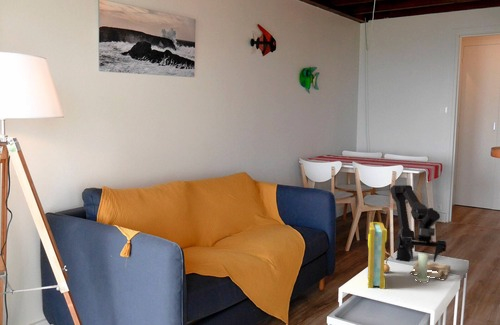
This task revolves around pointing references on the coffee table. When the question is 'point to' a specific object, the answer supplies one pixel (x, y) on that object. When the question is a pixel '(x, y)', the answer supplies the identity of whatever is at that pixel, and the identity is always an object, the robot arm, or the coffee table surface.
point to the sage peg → (422, 267)
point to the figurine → (386, 267)
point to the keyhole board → (440, 268)
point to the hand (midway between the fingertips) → (423, 260)
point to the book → (376, 254)
